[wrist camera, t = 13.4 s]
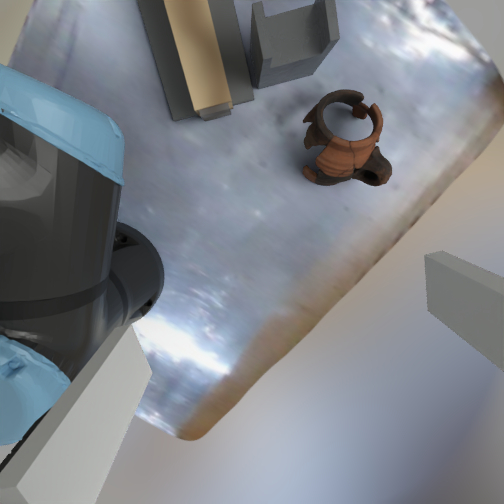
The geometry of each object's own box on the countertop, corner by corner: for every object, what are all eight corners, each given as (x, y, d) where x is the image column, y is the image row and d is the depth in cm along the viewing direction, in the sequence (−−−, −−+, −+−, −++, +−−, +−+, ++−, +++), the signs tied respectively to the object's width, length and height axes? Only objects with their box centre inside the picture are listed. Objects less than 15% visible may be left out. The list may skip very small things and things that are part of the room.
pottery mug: (279, 167, 37) (291, 126, 29) (315, 117, 39) (336, 65, 31) (357, 217, 36) (393, 188, 28) (390, 163, 38) (432, 122, 30)
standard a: (258, 89, 33) (263, 59, 24) (249, 51, 32) (252, 3, 23) (312, 74, 33) (339, 38, 24) (306, 35, 32) (332, -20, 22)
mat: (174, 121, 34) (173, 120, 34) (126, -41, 30) (123, -45, 29) (254, 100, 34) (254, 98, 33) (217, -68, 29) (217, -73, 28)
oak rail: (202, 122, 34) (196, 116, 30) (149, -68, 28) (132, -110, 24) (234, 113, 34) (233, 106, 29) (187, -80, 28) (177, -124, 24)
